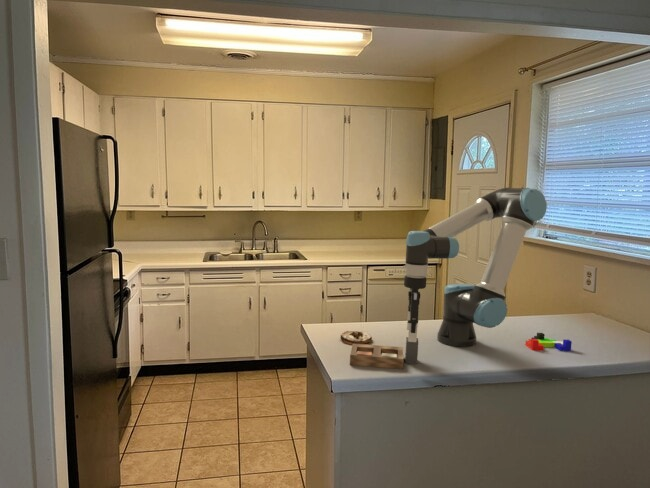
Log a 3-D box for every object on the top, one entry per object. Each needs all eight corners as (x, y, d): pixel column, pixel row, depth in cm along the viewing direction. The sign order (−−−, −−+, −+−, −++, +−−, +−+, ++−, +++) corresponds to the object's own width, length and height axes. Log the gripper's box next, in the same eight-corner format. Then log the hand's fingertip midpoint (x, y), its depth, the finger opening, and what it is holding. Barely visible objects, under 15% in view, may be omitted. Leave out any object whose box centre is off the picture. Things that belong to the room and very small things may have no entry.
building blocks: (554, 341, 200) (555, 331, 200) (570, 352, 187) (571, 341, 187) (518, 340, 200) (519, 330, 199) (532, 351, 187) (533, 340, 186)
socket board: (402, 356, 176) (402, 345, 176) (402, 368, 164) (403, 357, 164) (352, 352, 178) (353, 342, 178) (349, 364, 167) (350, 353, 166)
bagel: (341, 333, 202) (342, 323, 202) (377, 337, 198) (378, 327, 198) (332, 344, 188) (333, 334, 188) (370, 349, 184) (371, 338, 184)
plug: (416, 359, 173) (418, 332, 172) (417, 363, 169) (418, 336, 168) (405, 358, 174) (406, 331, 173) (405, 362, 170) (406, 335, 169)
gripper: (403, 269, 181) (400, 324, 183) (405, 282, 156) (401, 345, 159) (424, 270, 180) (420, 326, 182) (429, 283, 155) (424, 348, 158)
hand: (411, 335), depth 170 cm, fingers open, 13 cm apart
